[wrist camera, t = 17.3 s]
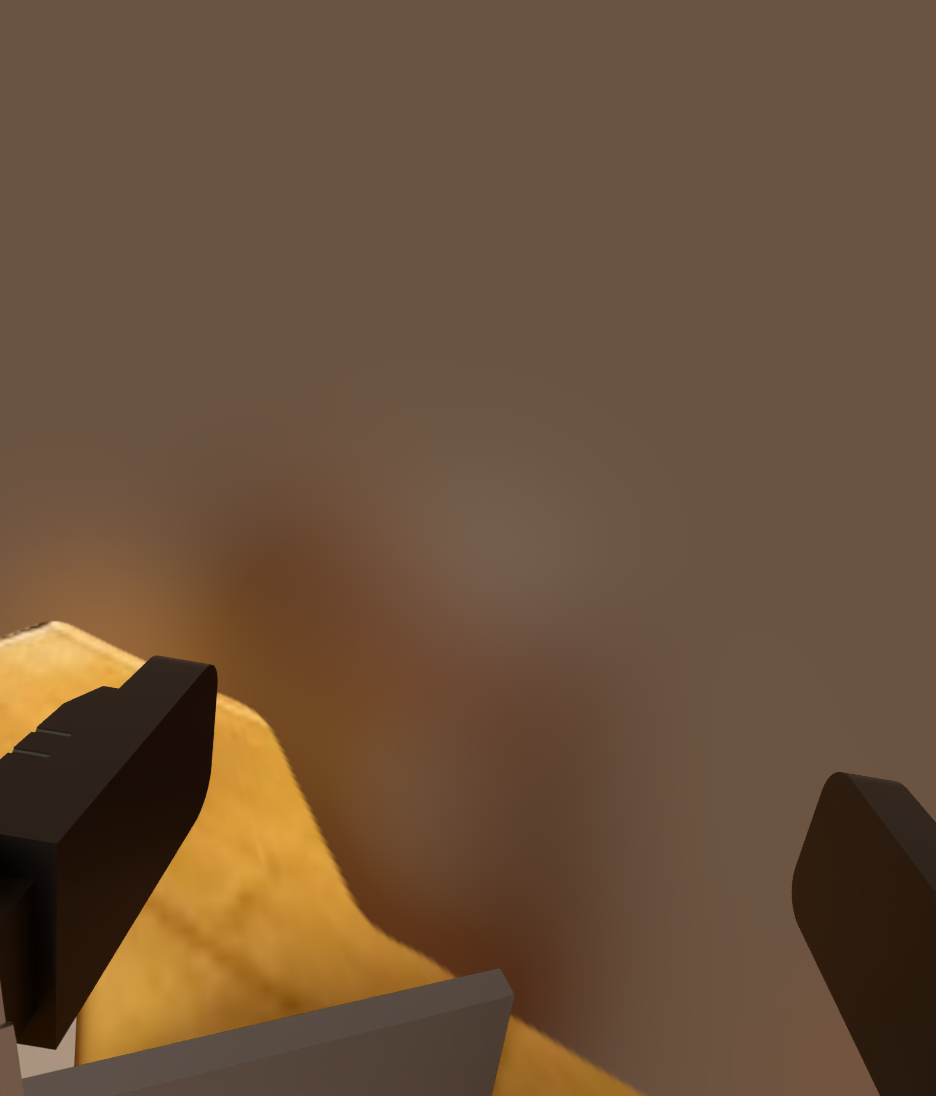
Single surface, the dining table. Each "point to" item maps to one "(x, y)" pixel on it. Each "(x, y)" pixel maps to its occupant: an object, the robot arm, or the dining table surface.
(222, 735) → the dining table surface
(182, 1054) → the screen
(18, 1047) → the pad
